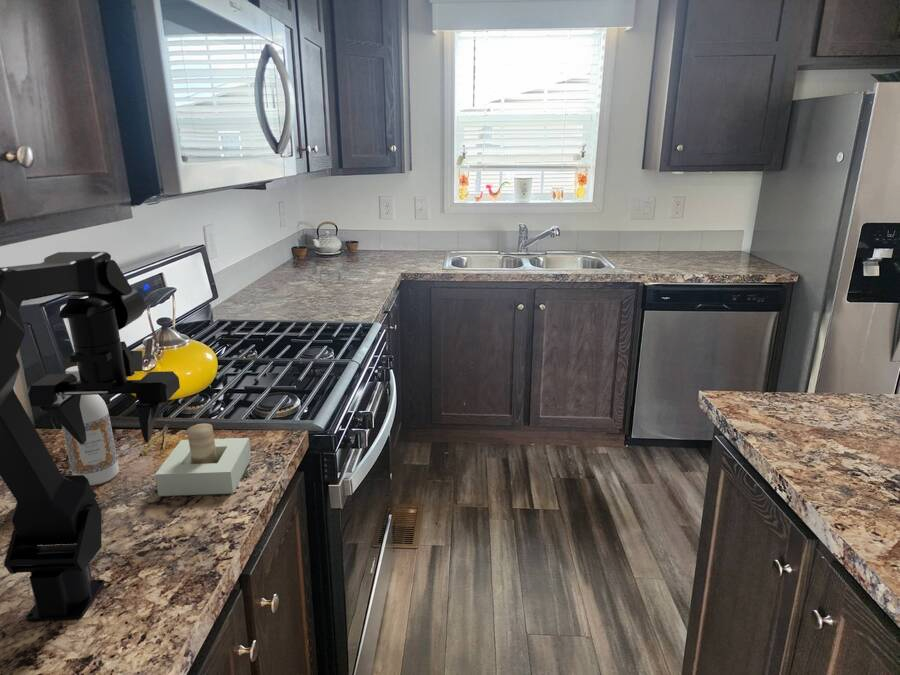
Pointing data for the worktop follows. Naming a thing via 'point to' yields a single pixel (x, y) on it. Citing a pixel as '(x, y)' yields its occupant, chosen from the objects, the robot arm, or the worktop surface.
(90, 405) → the bath foam
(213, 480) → the socket block
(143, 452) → the tongs
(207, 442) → the peg
